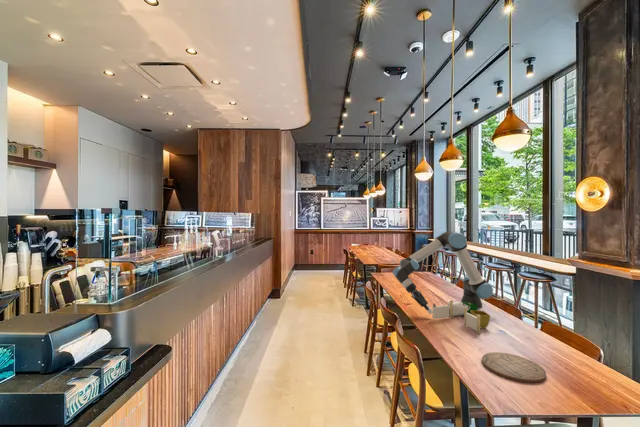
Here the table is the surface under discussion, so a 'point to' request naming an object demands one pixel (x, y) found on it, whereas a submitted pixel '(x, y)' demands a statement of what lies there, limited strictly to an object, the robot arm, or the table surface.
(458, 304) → the milk carton
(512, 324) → the table surface
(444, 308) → the gate
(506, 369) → the trivet
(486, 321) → the flower pot
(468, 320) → the fence
